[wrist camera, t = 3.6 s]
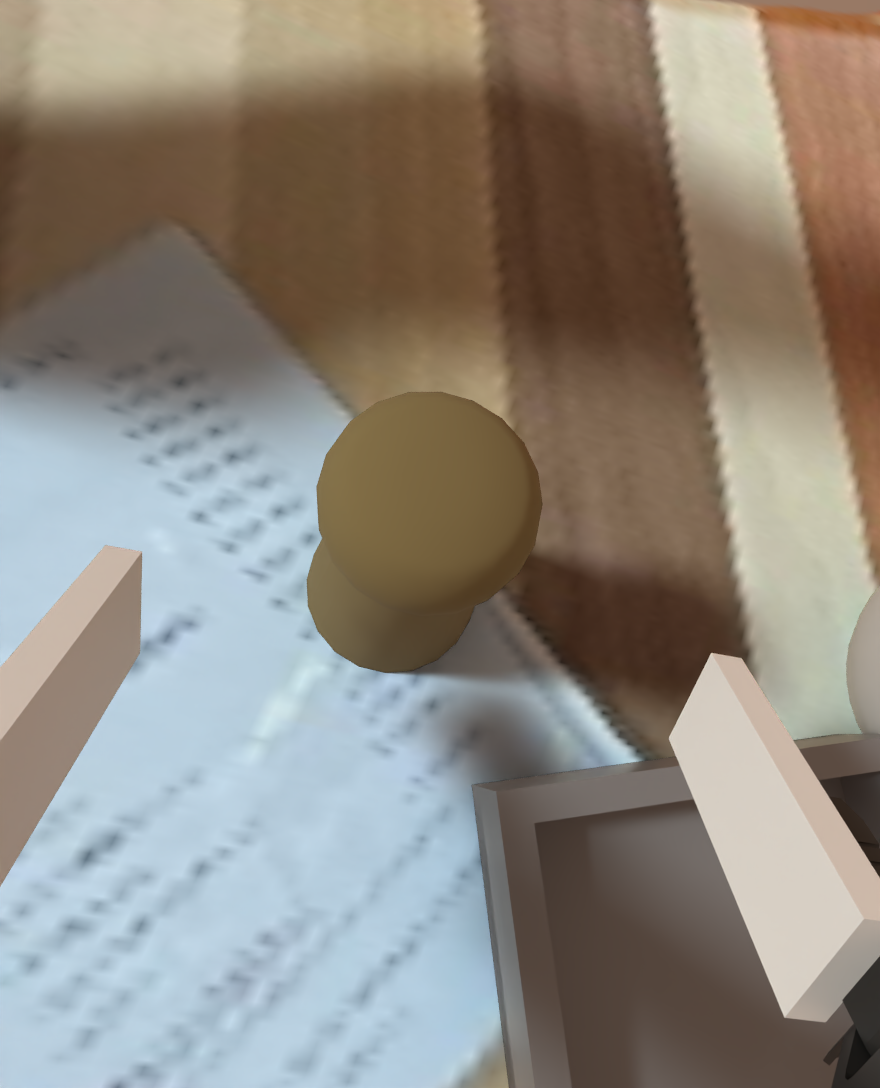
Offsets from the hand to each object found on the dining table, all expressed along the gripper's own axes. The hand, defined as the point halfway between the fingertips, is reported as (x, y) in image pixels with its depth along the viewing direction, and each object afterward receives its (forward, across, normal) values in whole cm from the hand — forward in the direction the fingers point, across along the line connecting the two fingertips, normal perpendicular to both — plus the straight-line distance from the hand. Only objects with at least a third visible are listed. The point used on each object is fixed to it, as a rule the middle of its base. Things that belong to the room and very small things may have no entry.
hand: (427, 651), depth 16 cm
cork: (+8, -1, -4) cm, 9 cm away
